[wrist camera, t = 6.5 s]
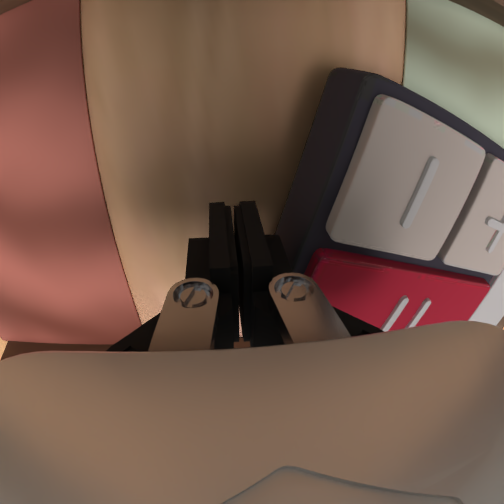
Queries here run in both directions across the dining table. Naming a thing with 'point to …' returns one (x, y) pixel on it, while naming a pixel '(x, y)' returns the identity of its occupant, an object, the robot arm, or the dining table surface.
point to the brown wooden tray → (87, 175)
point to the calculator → (397, 208)
